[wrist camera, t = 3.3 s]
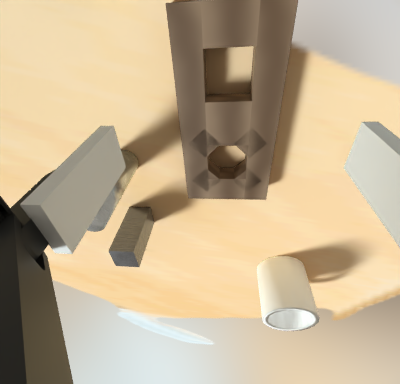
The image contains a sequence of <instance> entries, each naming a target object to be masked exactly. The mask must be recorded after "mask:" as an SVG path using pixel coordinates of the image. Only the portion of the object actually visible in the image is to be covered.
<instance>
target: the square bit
mask: <svg viewBox="0 0 400 384" xmlns="http://www.w3.org/2000/svg"><path fill="white" fill-rule="evenodd" d="M153 224H154V220H153V216H152V212H151V208H150V207H129V209H128V211H127V213H126V216H125V218H124V220H123V222H122V224H121V226H120V228H119V230H118V232H117V234H116V236H115V238H114V241H113V243H112V245H111V247H110V249H109V253H110V255H111V257H112V259H113V261H114V263H115V265H116V266H129V267H139V266H140V263H141V260H142V257H143V254H144V251H145V248H146V245H147V242H148V239H149V236H150V233H151V230H152V227H153Z"/></svg>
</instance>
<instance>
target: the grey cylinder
mask: <svg viewBox="0 0 400 384" xmlns="http://www.w3.org/2000/svg"><path fill="white" fill-rule="evenodd" d="M121 152H122V155H123V159H124V162H125V165H126V168H125V169H124V171H123V173H122V174H121V176H120V178H119V179H118V181H117V182H116V184H115V186H114V187H113V189H112V190H111V192H110V194H109V195H108V197H107V199H106V200H105V202H104V203H103V205H102V207H101V208H100V210H99V211H98V213H97V215H96V216H95V218H94V220H93V221H92V223H91V224H90V226H89V228H88V229H87V230H88V231H94V232H96V231H101V230H103V229H104V228H105V226H106V224H107V222H108V221H109V219H110V217H111V215H112V213H113V211H114V210H115V208H116V206H117V204H118V202H119V200H120V199H121V197H122V195H123V193H124V191H125V189H126V188H127V186H128V184H129V182H130V180H131V178H132V177H133V175H134V173H135V171H136V169H137V167H138V164H139V163H138V159H137V157H136V156H135V155H134V154H133V153H131V152H130V151H127V150H121Z"/></svg>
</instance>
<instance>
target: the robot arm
mask: <svg viewBox="0 0 400 384" xmlns="http://www.w3.org/2000/svg"><path fill="white" fill-rule="evenodd" d="M125 168H126V165H125V162H124V159H123V155H122V152H121V149H120V146H119V142H118V139H117V136H116V132H115V129H114V126H100V127H99V128H98V129H97V130H96V131H95V132H94V133H93V134H92V135H91V136H90V137H89V138H88V139H87V140H86V141H85V142H84V143H83V144H82V145H81V146H80V147H79V148H77V149H76V150H75V151H74V152H73V153H72V154H71V155H70V156H69V157H68V158H67V159H66V160H65V161H64V162H63V163H62V164H61V165H60V166H59V167H58V168H57V169H56V170H54V171H52V172H51V173H49V174H47V175H45V176H44V177H43V178H42V179H41V180H40V181H39V182H38V183H37V184H36V185H35V186H34V187H32V188H31V190H29V191H28V192H27V193H26V194H25V195H24V196H23V197H22V198H21V199H20V200H19V201H18V202H17V203H16V204H14V205H13V206H12V207H11V208H9V206H8V205H7V204H6V203H5V201H4V200H3V199H2V197H1V196H0V384H73V380H72V375H71V370H70V365H69V360H68V355H67V351H66V346H65V341H64V336H63V331H62V326H61V321H60V317H59V312H58V307H57V302H56V297H55V292H54V288H53V282H52V277H51V273H50V268H49V263H48V258H47V256H46V254H45V253H44V250H45V248H46V247H47V246H48V244H49V245H50V247H51V248H52V249H53V251H54V252H55V253H64V254H72V253H73V252H74V250H75V249H76V247H77V245H78V244H79V242H80V241H81V239H82V237H83V236H84V234H85V232H86V231H87V229H88V228H89V226H90V224H91V223H92V221H93V220H94V218H95V216H96V215H97V213H98V211H99V210H100V208H101V207H102V205H103V203H104V202H105V200H106V199H107V197H108V195H109V194H110V192H111V190H112V189H113V187H114V186H115V184H116V182H117V181H118V179H119V178H120V176H121V174H122V173H123V171H124V169H125ZM344 169H345V171H346V172H347V174H348V175H349V176H350V178H351V179H352V181H353V182H354V184H355V185H356V186H357V188H358V189H359V191H360V192H361V193H362V195H363V196H364V198H365V199H366V201H367V202H368V203H369V205H370V206H371V208H372V209H373V211H374V212H375V213H376V215H377V216H378V218H379V219H380V221H381V222H382V223H383V225H384V226H385V228H386V229H387V230H388V232H389V233H390V235H391V236H392V238H393V239H394V240H395V242H396V243H397V245H398V246H399V248H400V139H399V138H398V137H397V136H396V135H394V134H393V133H392V132H391V131H389V130H388V129H387V128H386V127H384V126H383V125H382V124H380V123H379V122H362V123H361V125H360V128H359V131H358V133H357V136H356V138H355V141H354V143H353V146H352V148H351V151H350V153H349V156H348V158H347V161H346V163H345V166H344Z"/></svg>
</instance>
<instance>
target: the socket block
mask: <svg viewBox="0 0 400 384" xmlns="http://www.w3.org/2000/svg"><path fill="white" fill-rule="evenodd" d="M297 4H298V0H201V1H188V2H174V3H166V10H167V19H168V27H169V36H170V45H171V53H172V62H173V70H174V79H175V88H176V96H177V105H178V113H179V122H180V131H181V139H182V148H183V156H184V165H185V174H186V182H187V191H188V198H202V199H260V200H266V196H267V190H268V184H269V177H270V171H271V165H272V159H273V153H274V147H275V140H276V134H277V128H278V122H279V116H280V109H281V103H282V97H283V91H284V85H285V79H286V72H287V66H288V60H289V54H290V48H291V41H292V35H293V29H294V23H295V16H296V10H297ZM245 46H254V50H253V63H252V76H251V89H250V93H246V94H213V95H207V84H206V57H205V49H207V48H226V47H245ZM218 146H237V147H238V148H239V149H240V150H242V151H243V152H244V153H245V154H246V155H245V160H243V161H242V162H241V163H240V164H238V165H237V166H236V167H235V168H219V167H218V166H217V165H216V164H215V163H213V162H212V161H211V160H210V159H209V154H210V153H211V152H213V151H214V150H215V149H216V148H217V147H218Z"/></svg>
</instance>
